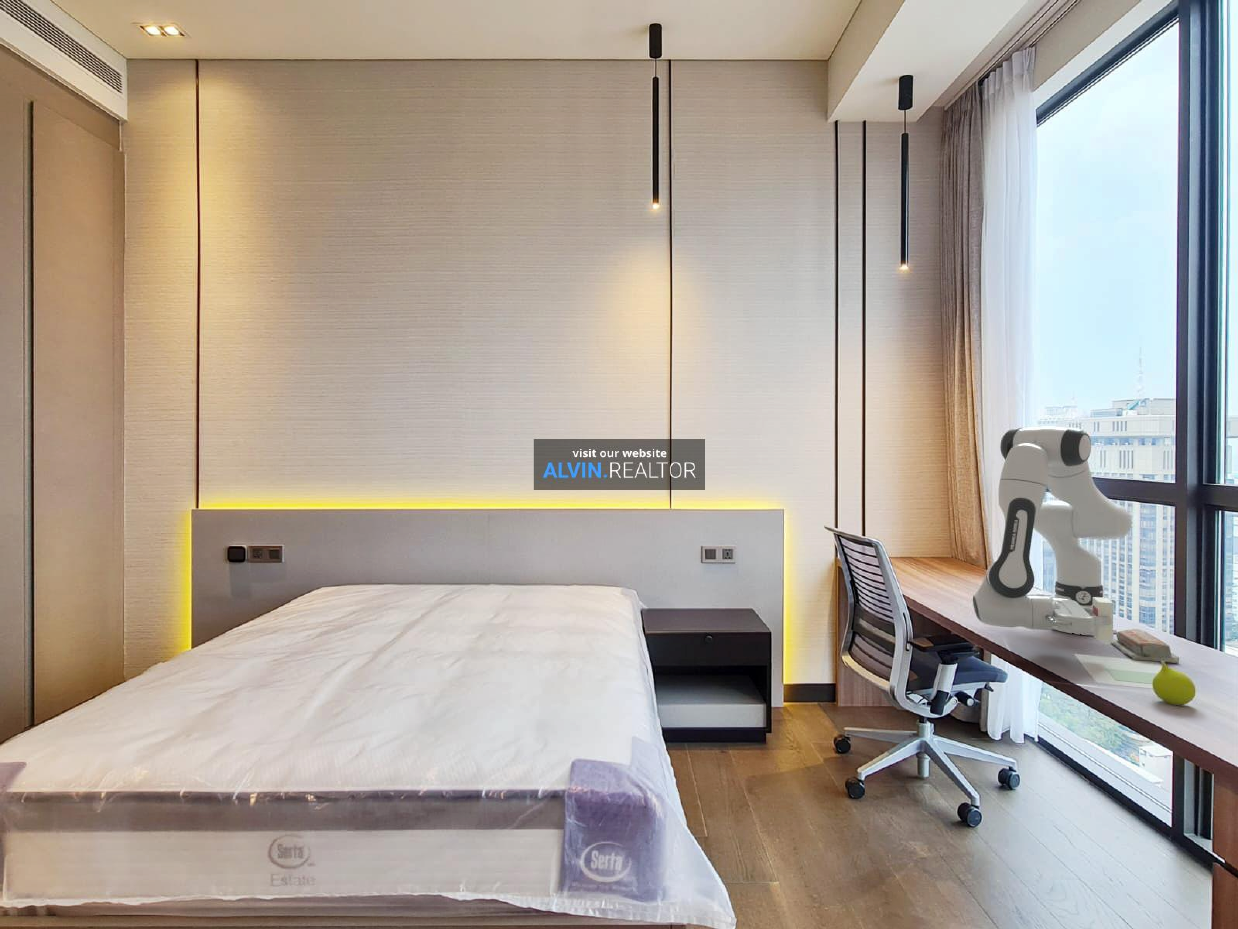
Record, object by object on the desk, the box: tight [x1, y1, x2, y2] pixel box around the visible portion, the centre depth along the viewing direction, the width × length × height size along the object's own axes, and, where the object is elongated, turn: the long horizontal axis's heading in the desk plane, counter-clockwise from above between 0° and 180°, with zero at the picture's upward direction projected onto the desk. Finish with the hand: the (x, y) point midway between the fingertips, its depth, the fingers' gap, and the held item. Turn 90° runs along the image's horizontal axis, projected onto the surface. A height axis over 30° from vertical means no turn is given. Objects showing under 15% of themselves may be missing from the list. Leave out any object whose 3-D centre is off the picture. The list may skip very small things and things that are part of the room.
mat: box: [1073, 653, 1162, 690], centre depth 161 cm, size 24×18×1 cm
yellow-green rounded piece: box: [1152, 655, 1197, 706], centre depth 142 cm, size 7×7×10 cm
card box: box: [1092, 597, 1114, 644], centre depth 168 cm, size 6×3×10 cm, turn 156°
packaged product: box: [1109, 628, 1180, 664], centre depth 176 cm, size 18×5×10 cm
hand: (1106, 617), depth 168 cm, fingers closed on card box, 6 cm apart
